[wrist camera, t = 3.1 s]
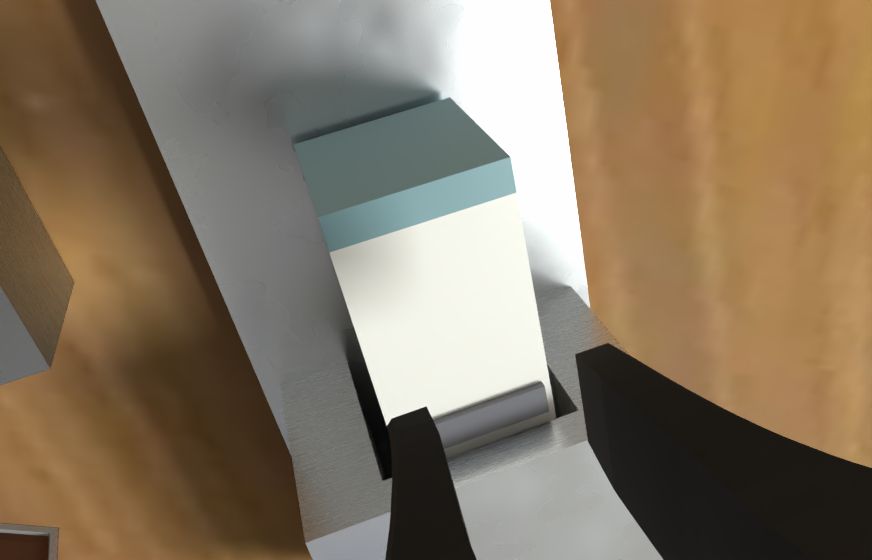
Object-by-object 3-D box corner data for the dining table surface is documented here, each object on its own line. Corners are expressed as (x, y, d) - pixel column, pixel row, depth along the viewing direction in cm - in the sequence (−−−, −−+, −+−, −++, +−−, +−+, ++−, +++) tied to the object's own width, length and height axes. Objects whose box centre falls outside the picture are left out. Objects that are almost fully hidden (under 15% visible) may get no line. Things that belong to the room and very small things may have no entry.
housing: (601, 469, 29) (705, 629, 23) (343, 565, 28) (383, 759, 22) (511, -169, 18) (665, -177, 12) (80, -56, 17) (18, -3, 11)
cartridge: (531, 484, 27) (589, 593, 23) (419, 525, 26) (458, 644, 22) (450, 97, 19) (514, 160, 15) (293, 144, 19) (318, 221, 15)
